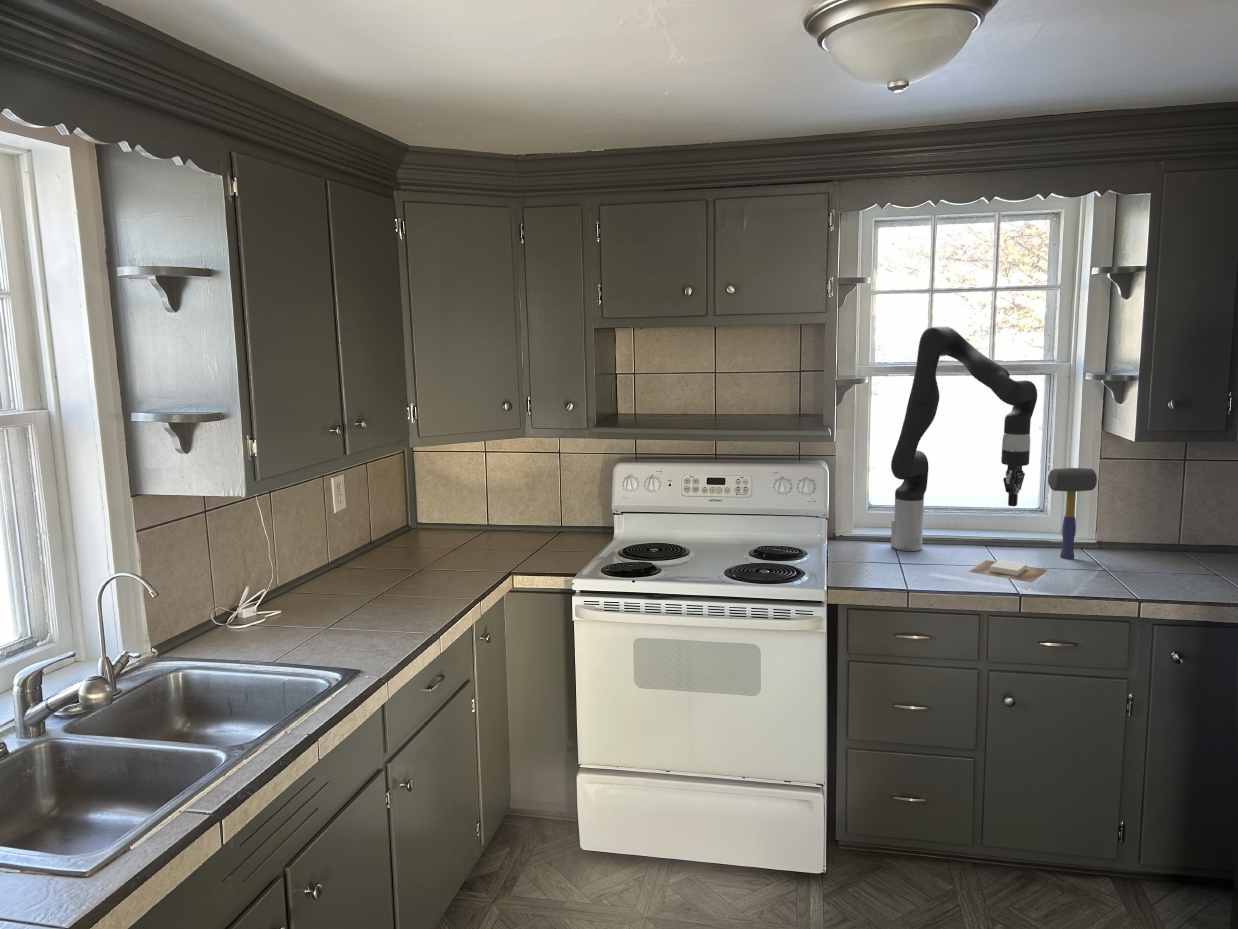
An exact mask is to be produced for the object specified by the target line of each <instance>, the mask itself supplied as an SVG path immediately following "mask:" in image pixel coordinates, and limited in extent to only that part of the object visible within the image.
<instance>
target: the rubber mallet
mask: <svg viewBox="0 0 1238 929" xmlns="http://www.w3.org/2000/svg"><path fill="white" fill-rule="evenodd" d="M1047 478H1048V479H1047V481H1048V486H1049V488H1050V489H1051V491H1053V492H1054V491H1055V492H1066V501H1065V502H1066V503H1065V515H1064V517H1063V521H1062V527H1061V528H1062V530H1061V533H1062V534H1061V535H1062V543H1061V545H1062V546H1061V550H1060V554H1059V556H1060V559H1063V560H1065V559H1066V560H1074V559H1075V552H1074V550H1075V549H1074V547H1075V546H1074V545H1075V537H1076V531H1077V529H1076V528H1077V521H1076V514H1075V513H1076V512H1075V511H1076V498H1077V497H1076V494H1077V492H1088V491H1094V489H1095V488H1096V486H1097V483H1098V476H1097V473H1096V472H1095V471H1094V469H1092V468H1086V467H1085V468H1084V467H1083V468H1082V467H1061V468H1053V469H1052V470H1050V471H1049V473H1048V477H1047Z"/></svg>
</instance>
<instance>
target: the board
mask: <svg viewBox="0 0 1238 929" xmlns="http://www.w3.org/2000/svg"><path fill="white" fill-rule="evenodd" d="M995 562H996V560H995V561H994V560H988V559H986V560H984V561H983V562H981V563H979V564H978V565H977V566H975V567H973V568H972V569H970V570H969V571H968V572H969V573H974V574H979V575H986V576H993V577H999V578H1004V579H1010V580H1014V581H1015V580H1017V581H1021V582H1028V583H1034V582H1035V581H1036V580H1037V579H1039V578H1040V577H1041V576H1043V575H1045V573H1046V572H1047V571H1048V569H1046V568H1045V569H1044V568H1039V567H1033V566H1032V567H1031V566H1027V569H1026V570H1025V571H1024V572H1022V573H1021V574H1020V575H1018V576H1015V575H1008V574H1002V573H996V572H991V571H990V566H991V565H992V564H994V563H995Z"/></svg>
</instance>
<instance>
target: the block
mask: <svg viewBox="0 0 1238 929" xmlns="http://www.w3.org/2000/svg"><path fill="white" fill-rule="evenodd" d="M1027 567H1028V563H1022V562H1018V561H1012V560H1011V561H1010V560H1003V559H998V560H996V561H995V563H994V564H992V565H991V566H990V571H991V572H996V573H1002V574H1008V575H1015V576H1018V575H1020V574H1021V573H1022V572H1024V571H1025V570H1026V569H1027Z"/></svg>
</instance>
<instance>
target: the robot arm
mask: <svg viewBox="0 0 1238 929" xmlns="http://www.w3.org/2000/svg"><path fill="white" fill-rule="evenodd" d="M918 342H919V343H918V350H917V356H916V357H917V358H916V364H915V372H914V375H913V380H912V381H913V382H912V385H911V390H910V393H909V396H908V400H907V405H906V410H905V411H906V412H905V415H904V419H903V423H902V427H901V432H900V435H899V438H898V440H897V443H896V447H895V448H894V452H893V455H892V458H891V462H890V468H891V469H890V470H891V472H892V475H893V476H894V477H895V478H896V480H897V479H898V480H903V482H902V483H901V484H900V486H898V487H897V488H896V489H895V491H894V513H893V514H894V516H893V519H892V520H891V532H890V534H891V538H890V541H891V542H890V548H891V549H896V550H898V551H903V552H916V551H921V550H922V549H923V530H924V529H923V528H924V505H925V504H924V502H925V493H926V492H927V490H928V489H927V488H928V479H929V460H928V458H927V455H926V454H925V453H924V451H923V452H922V451H921V450H917V449H918V446H919V444H920V441H921V440H922V437H923V436H924V435H925V433H926V432H927V430H928V429H929V428H930V426H931V425H932V423H933V421H934V420H935V417H936V414H937V411H938V406H939V403H940V390H939V389H940V388H939V385H938V381H937V368H938V364H939V360H940V357H945V356H948V357H950V358H953V359H954V360H956V361H959V362H960V363H961V364H963V366H964V367H966V369H967V371H968V372H969V374H970V375H971V376H972V377H973V378H974V379H976V380H977V382H978V381H979V383H981V384H983V385H985V386H986V387H987V388H989V389H990V390H991V391H992V393H993V394H995V395H996V397H998V399H999V400H1000V401H1002V402H1003V403H1005V404H1006V405H1010V406H1012V410H1011V411H1010V412H1009V413H1007V414H1006V415H1005V417H1004V421H1003V422H1004V423H1003V434H1002V435H1003V436H1002V439H1001V440H1002V442H1001V457H1000V458H1001V459H1000V462H1001V464H1002V465H1006V466H1007V470H1006V471H1005V477H1003V479H1002V480H1003V486H1004V488H1005V493H1007V494H1008V498H1007V499H1008V500H1007V505H1008V506H1009V507H1017V505H1018V498H1019V493H1020V491H1021V490H1022V486H1023V482H1024V479H1025V475H1026V473H1025V472H1024V470H1023V467H1024V466H1029V464H1030V455H1031V424H1032V423H1031V419H1032V417H1033V414H1034V411H1035V408H1036V404H1037V401H1038V389H1037V387H1036V384H1035V383H1033V382H1032V381H1030V380H1014V379H1012V378H1011V376H1010V372H1009V371H1008V370H1007V369H1006V368H1004V367H1002V366H1001V365H1000V364H998V363H997V362H995V361H993V360H992V359H990V358H988V357H987V356H986V355H984V354H983V353H982V352H981V351H979V350H978V349H976V348H975V347H974V346H973V345H972V344H971V343H970V342H969V341H967V340H966V339H965V337H964V336H963V335H961V334H960V333H959V332H958V331H957V330H956V329H954V328H952V327H951V326H950V327H949V326H930V327H928V328H926V329H925V330H924V331H923V332H922V334H921V336H920V339H919V341H918Z"/></svg>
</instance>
